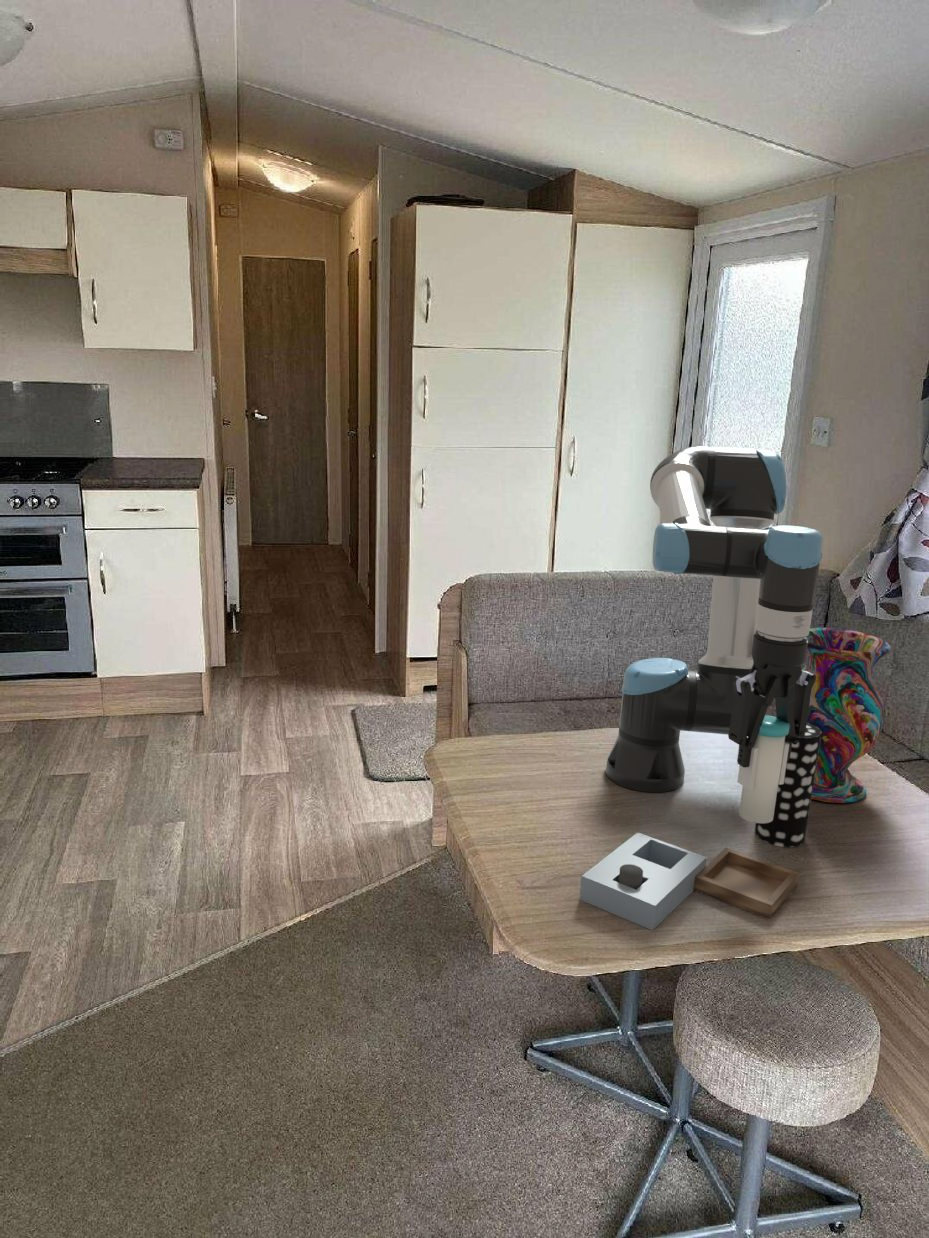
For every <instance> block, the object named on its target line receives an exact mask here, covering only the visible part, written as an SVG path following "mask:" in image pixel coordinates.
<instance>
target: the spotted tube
mask: <svg viewBox="0 0 929 1238" xmlns="http://www.w3.org/2000/svg"><path fill="white" fill-rule="evenodd" d="M797 727H798V725H797ZM821 733H822V732H821V730H820V729H819V728H817V727H816V726H814V725H812V724H809V723H807V725H806V732H805V735H804V736H803V737H797V739H799V742H798V743H797V744H795V745H794V744H792V747H791V754H790V759H789V761H787V764H786V770H785V777H784V784H781V785H779V784H778V789H777V796H776V803H775V810H774V817H773V821H771V822H769V823H755V825H754V834H755V836H757V838H758V839H760V840H761V841H762V842H765V843H767V844H770V845H772V846H777V847H783V848H796V847H800V846H802V845H803V844H804V843H805V839H806V833H807V827H808V821H809V815H810V810H811V809H810V808H811V803H812V799H811V796H812V790H813V784H814V777H815V771H816V765H817V758H818V752H819V745H820V739H821Z"/></svg>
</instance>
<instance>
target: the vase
mask: <svg viewBox="0 0 929 1238" xmlns="http://www.w3.org/2000/svg"><path fill="white" fill-rule="evenodd" d="M805 638H806V639H807V641H808V646H807V653H806V662H805V663H806V664H805V666H804V667H803V668H802V670H805V671H807V672H810V673H812V674H814V675H816V680H815V683H814V685H813V687H812V690H811V696H810V703H809V711H808V718H807V723H809V724H812V725H814V726H816V727H817V728H819V729H820V730H821V732H822V733H821V739H820V745H819V752H818V758H817V765H816V771H815V777H814V784H813V790H812V796H811V800H815V801H820V802H827V803H837V804H838V803H839V804H840V803H841V804H842V803H843V804H845V803H853V802H858V801H860V800H862V799H863V798H865V796H866V795H867V789H866V788H865V786H864V784H863V783H862V782H861V781H860V780H859V779H858V778H857V777H855V776H854V775H853V774H851V772H850V770H849V767H850V766H851V765H852V764H853V763H854V762H855V761H857V760H859V759H860V758H862V757H864V756H865V755H866V754H867V753H868V752H869V751H870V750H871V749H873V747H874V746H875V745H876V743H877V741H878V740H879V737H880V736H881V732H882V729H883V725H884V721H885V714H884V713H885V712H884V711H885V710H884V709H885V708H884V706H885V705H884V703H883V700H882V697H881V695H880V692H879V689H878V687H877V685H876V682H875V680H874V678H873V673H874V667H875V665H876V664H877V663H878V661H879V660H880V659H881V658H882V657H884V656H886V655H887V654H888V653H890V650H891V645H890V643H888V641H885V640H884V639H882V638H880V637H878V636H874V635H872V634H868V633H866V632H861V631H856V630H850V629H843V628H837V627H836V628H835V627H810V631H809V635H808V636H806V637H805Z"/></svg>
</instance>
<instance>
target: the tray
mask: <svg viewBox="0 0 929 1238" xmlns="http://www.w3.org/2000/svg"><path fill="white" fill-rule="evenodd" d="M799 874H800V873H799V872H798V871H794V870H791V869H788V868H786V867H782V866H779V865H776V864H774V863H770V862H768V861H765V860H763V859H759V858H757V857H754V856H751V855H749V854H745V853H743V852H739V851H736V850H734V849H731V848H728V847H727V846H725V847H724V848H723V849H722V850H721V851H720V852H719V853H718V854H717V855H716V856H715V857H713V858H712V860H710V861H709V862H708V864H706V867H705V868H703V869H702V870H701V871H700V872H699V873H698V874H697V875H696V876H695V881H694V889H693V892H697V893H699V894H702V895H704V896H705V897H706V896H707V897H709V898H712V899H715V900H716V901H720V902H722V903H725V904H728V905H729V906H730V905H731V906H732V907H736V908H738V909H740V910H743V911H745V912H748V913H750V914H753V915H755V916H759V917H761V918H763V919H766V920H771V919H772V917H774V915H775V914H776V913H777V912H778V910H779V909H780V908H781V907H782V905H783V904H784V903H785V902H786V901H787V899H788V898H789V897H790V896H791V895H792V893H793V892H794V890H796V888H797V887H798V880H799Z"/></svg>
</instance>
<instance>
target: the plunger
mask: <svg viewBox="0 0 929 1238" xmlns="http://www.w3.org/2000/svg"><path fill="white" fill-rule="evenodd" d="M642 877H643V870H642V869H641V868H640V867H638V866H636V865H631V864H626V865H623V866H621V867H620V872H619V882H618V883H621V884H623V885H626V886H628V887H631V888H633V889H636V890H637V889H638V888H639V887H640V886H641V885H642Z"/></svg>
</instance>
